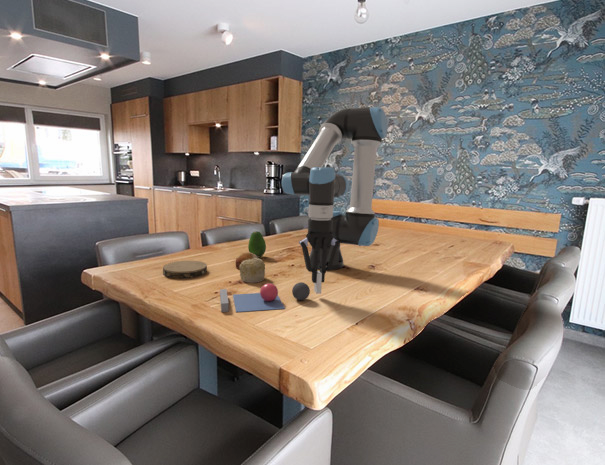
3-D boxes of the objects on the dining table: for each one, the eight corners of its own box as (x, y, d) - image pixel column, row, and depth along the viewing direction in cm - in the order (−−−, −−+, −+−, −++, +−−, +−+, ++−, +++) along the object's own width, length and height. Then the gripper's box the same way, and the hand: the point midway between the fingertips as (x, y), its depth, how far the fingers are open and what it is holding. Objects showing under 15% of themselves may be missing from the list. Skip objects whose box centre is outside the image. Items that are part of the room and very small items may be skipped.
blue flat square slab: (276, 292, 116) (276, 292, 116) (284, 308, 102) (284, 308, 102) (232, 295, 112) (232, 294, 112) (236, 312, 99) (236, 311, 99)
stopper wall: (226, 296, 111) (226, 289, 110) (228, 311, 99) (228, 303, 99) (220, 297, 110) (219, 289, 110) (221, 311, 99) (221, 303, 98)
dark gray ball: (293, 278, 111) (287, 293, 111) (299, 284, 106) (292, 301, 106) (308, 281, 113) (302, 297, 114) (315, 288, 108) (308, 304, 109)
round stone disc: (194, 265, 146) (194, 258, 145) (214, 274, 135) (214, 266, 134) (156, 272, 135) (155, 264, 134) (174, 282, 124) (174, 274, 123)
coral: (253, 284, 123) (253, 263, 122) (234, 279, 128) (234, 259, 127) (270, 278, 130) (270, 258, 129) (251, 273, 136) (251, 254, 134)
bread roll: (260, 274, 148) (262, 255, 150) (255, 270, 138) (257, 250, 140) (237, 272, 149) (239, 254, 151) (231, 268, 139) (233, 249, 141)
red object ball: (275, 280, 111) (258, 282, 109) (279, 285, 105) (260, 287, 104) (276, 296, 112) (259, 298, 110) (280, 302, 106) (261, 305, 105)
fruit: (264, 259, 157) (265, 233, 155) (246, 259, 158) (247, 232, 155) (266, 255, 165) (267, 230, 163) (249, 254, 165) (249, 229, 163)
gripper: (303, 220, 103) (300, 297, 107) (345, 220, 106) (341, 295, 110) (296, 216, 110) (294, 289, 114) (336, 216, 113) (333, 287, 117)
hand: (317, 292), depth 112 cm, fingers closed
